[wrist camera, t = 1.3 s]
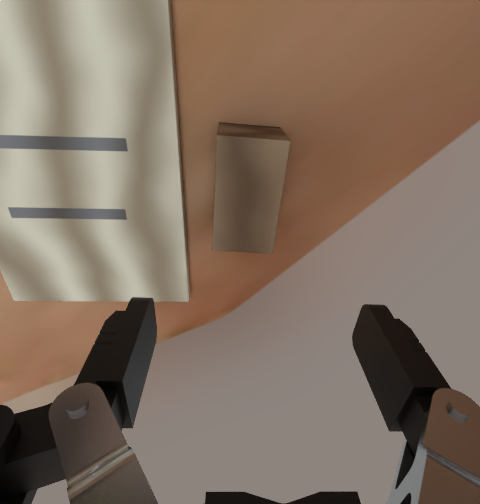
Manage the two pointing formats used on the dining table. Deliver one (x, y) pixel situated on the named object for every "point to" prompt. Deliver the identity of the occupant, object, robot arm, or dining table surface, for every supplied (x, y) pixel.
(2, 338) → the dining table surface
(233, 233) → the block
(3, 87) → the board
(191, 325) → the dining table surface
